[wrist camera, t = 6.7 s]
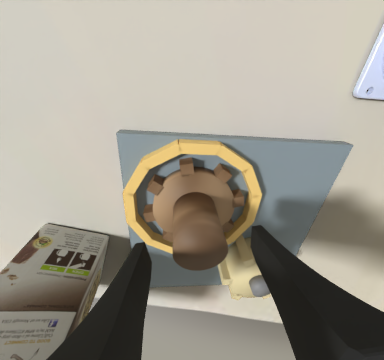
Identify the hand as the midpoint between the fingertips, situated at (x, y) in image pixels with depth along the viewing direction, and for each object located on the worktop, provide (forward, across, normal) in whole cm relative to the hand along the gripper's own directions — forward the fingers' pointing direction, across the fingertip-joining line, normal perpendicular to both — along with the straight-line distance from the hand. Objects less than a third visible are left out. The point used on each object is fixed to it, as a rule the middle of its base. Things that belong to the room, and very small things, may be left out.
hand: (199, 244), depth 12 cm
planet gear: (+5, 0, 0) cm, 5 cm away
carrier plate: (+6, -3, +4) cm, 8 cm away
